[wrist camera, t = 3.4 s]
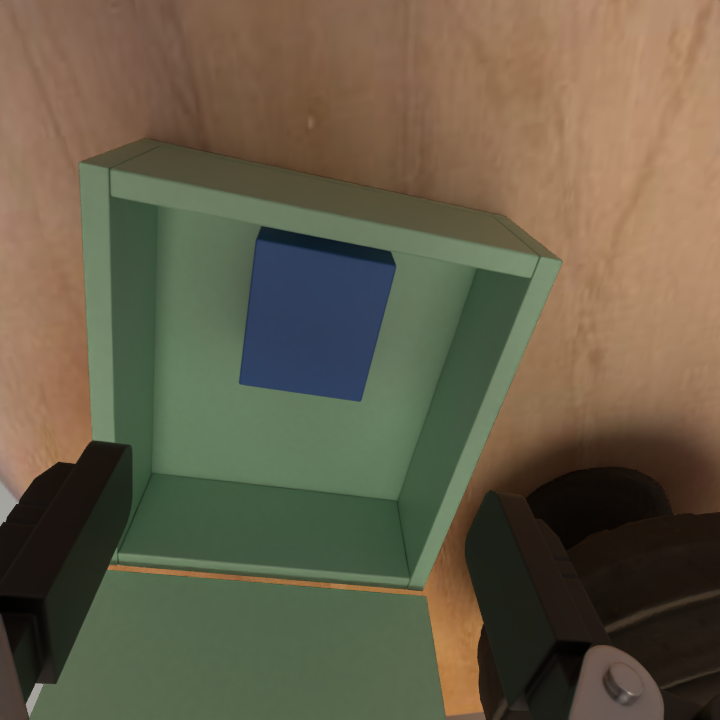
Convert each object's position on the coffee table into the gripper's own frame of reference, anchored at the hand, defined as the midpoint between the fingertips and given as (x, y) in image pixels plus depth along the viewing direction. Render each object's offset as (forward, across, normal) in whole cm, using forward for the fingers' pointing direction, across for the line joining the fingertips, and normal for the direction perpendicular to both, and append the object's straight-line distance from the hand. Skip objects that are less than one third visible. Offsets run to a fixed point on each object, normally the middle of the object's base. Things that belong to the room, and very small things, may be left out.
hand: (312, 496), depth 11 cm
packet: (+12, 0, 0) cm, 12 cm away
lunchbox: (+12, 0, +4) cm, 13 cm away
